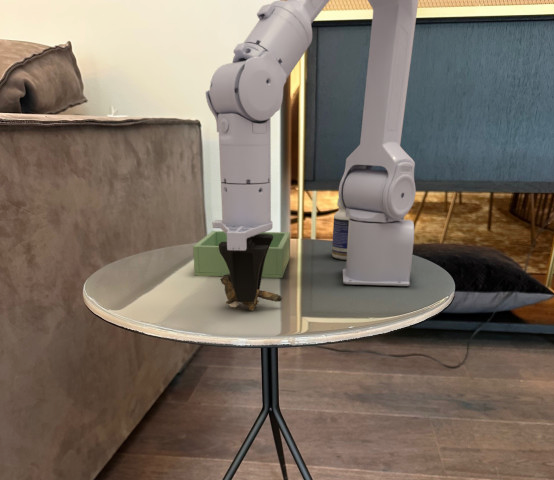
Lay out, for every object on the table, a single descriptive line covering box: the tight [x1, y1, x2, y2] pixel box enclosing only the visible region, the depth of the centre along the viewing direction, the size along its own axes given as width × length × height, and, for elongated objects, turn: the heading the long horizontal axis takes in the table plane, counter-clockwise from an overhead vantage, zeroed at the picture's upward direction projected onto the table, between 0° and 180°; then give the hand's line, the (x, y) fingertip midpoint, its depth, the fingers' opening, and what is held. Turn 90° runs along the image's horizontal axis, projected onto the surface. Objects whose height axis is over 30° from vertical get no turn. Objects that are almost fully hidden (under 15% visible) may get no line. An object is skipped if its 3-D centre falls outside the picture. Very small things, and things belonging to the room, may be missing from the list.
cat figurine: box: [219, 274, 283, 312], centre depth 65 cm, size 3×8×4 cm, turn 82°
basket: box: [192, 230, 291, 279], centre depth 85 cm, size 14×14×4 cm
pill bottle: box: [331, 197, 349, 261], centre depth 91 cm, size 6×6×10 cm
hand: (248, 297), depth 65 cm, fingers closed on cat figurine, 3 cm apart
